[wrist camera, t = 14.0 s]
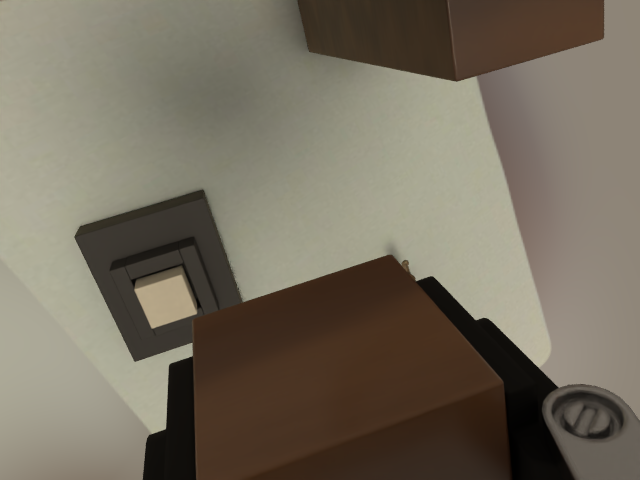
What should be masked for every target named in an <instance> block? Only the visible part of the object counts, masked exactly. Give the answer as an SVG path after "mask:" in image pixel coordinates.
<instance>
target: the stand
mask: <svg viewBox="0 0 640 480" xmlns="http://www.w3.org/2000/svg"><path fill="white" fill-rule="evenodd" d="M297 1H298V5H299V9H300V14H301V18H302V23H303V27H304V31H305V36H306V40H307V44H308V49H309V52H312V53H317V54H322V55H327V56H332V57H337V58H342V59H347V60H352V61H357V62H362V63H367V64H372V65H377V66H382V67H387V68H392V69H396V70H401V71H406V72H411V73H416V74H421V75H426V76H431V77H436V78H441V79H446V80H451V81H456V82H457V81H461V80H464V79H468V78H471V77H474V76H478V75H481V74H485V73H488V72H491V71H495V70H499V69H502V68H505V67H509V66H512V65H516V64H519V63H523V62H526V61H530V60H533V59H536V58H540V57H543V56H547V55H550V54H553V53H557V52H560V51H564V50H567V49H570V48H574V47H578V46H581V45H585V44H588V43H591V42H595V41H598V40H601V39H603V38H604V0H297Z"/></svg>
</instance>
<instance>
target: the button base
mask: <svg viewBox="0 0 640 480" xmlns="http://www.w3.org/2000/svg"><path fill="white" fill-rule="evenodd" d="M75 240H76V242H77V244H78V246H79V248H80V250H81V252H82V254H83V256H84V258H85V260H86V262H87V264H88V266H89V268H90V271H91V273H92V275H93V277H94V279H95V281H96V283H97V285H98V287H99V289H100V291H101V293H102V295H103V297H104V299H105V302H106V304H107V306H108V308H109V310H110V312H111V314H112V316H113V318H114V320H115V322H116V324H117V326H118V328H119V330H120V333H121V335H122V337H123V339H124V341H125V343H126V345H127V347H128V349H129V351H130V353H131V355H132V357H133V359H134V361H135V362H136V361H139V360H142V359H145V358H148V357H151V356H154V355H157V354H160V353H162V352H165V351H168V350H171V349H174V348H177V347H180V346H183V345H186V344H189V343H192V342H193V340H192V320H193V319H194V318H197V317H200V316H203V315H206V314H209V313H212V312H215V311H218V310H221V309H224V308H227V307H230V306H233V305H237V304H240V303H243V302H242V299H241V296H240V293H239V291H238V288H237V285H236V282H235V279H234V276H233V273H232V271H231V268H230V265H229V262H228V259H227V256H226V253H225V251H224V248H223V245H222V242H221V239H220V236H219V233H218V231H217V228H216V225H215V222H214V219H213V216H212V213H211V210H210V208H209V205H208V202H207V199H206V196H205V193H204V191H203V190H202V191H198V192H195V193H191V194H188V195H185V196H181V197H178V198H175V199H171V200H168V201H165V202H161V203H158V204H155V205H151V206H148V207H145V208H141V209H138V210H135V211H131V212H128V213H125V214H121V215H118V216H115V217H111V218H108V219H105V220H101V221H98V222H94V223H91V224H88V225H84V226H81V227H79V229H78V231H77V233H76V235H75ZM181 265H182V267H183V269H184V272H185V274H186V277H187V279H188V282H189V284H190V287H191V289H192V292H193V294H194V297H195V300H196V302H197V314H195V315H192V316H189V317H186V318H183V319H180V320H177V321H174V322H171V323H168V324H165V325H162V326H159V327H156V328H151V326H150V324H149V322H148V319H147V317H146V315H145V313H144V310H143V308H142V306H141V304H140V302H139V299H138V297H137V295H136V293H135V290H134V289H135V283H136V280H137V279H140V278H143V277H146V276H149V275H152V274H155V273H159V272H162V271H165V270H168V269H171V268H174V267H178V266H181Z"/></svg>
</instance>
